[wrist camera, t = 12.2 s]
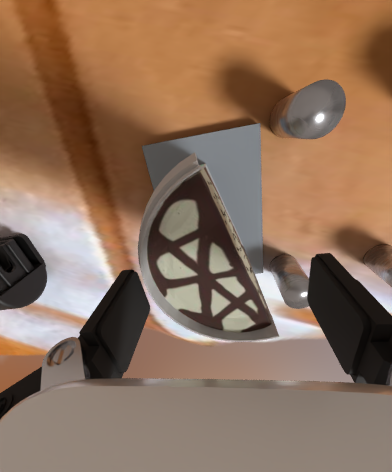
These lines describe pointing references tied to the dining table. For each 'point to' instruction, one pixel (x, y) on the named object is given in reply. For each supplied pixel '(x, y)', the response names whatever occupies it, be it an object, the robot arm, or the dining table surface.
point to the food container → (200, 260)
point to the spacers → (312, 127)
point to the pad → (223, 176)
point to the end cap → (20, 272)
